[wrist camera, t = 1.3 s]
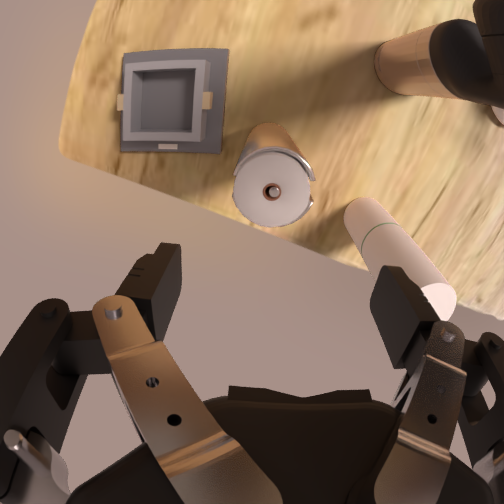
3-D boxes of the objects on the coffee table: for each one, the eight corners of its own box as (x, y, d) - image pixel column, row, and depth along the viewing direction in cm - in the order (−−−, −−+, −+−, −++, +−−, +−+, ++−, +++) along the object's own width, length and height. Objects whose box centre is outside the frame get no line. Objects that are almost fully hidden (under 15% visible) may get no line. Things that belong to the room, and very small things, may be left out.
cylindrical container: (355, 243, 51) (407, 347, 29) (335, 211, 48) (387, 309, 26) (389, 222, 49) (461, 314, 27) (371, 188, 46) (448, 269, 24)
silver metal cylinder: (275, 172, 46) (285, 248, 24) (238, 149, 44) (212, 204, 22) (299, 137, 43) (336, 181, 21) (262, 114, 42) (260, 130, 20)
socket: (229, 50, 37) (224, 44, 32) (221, 152, 45) (216, 159, 40) (127, 54, 37) (112, 50, 32) (124, 149, 44) (109, 156, 40)
